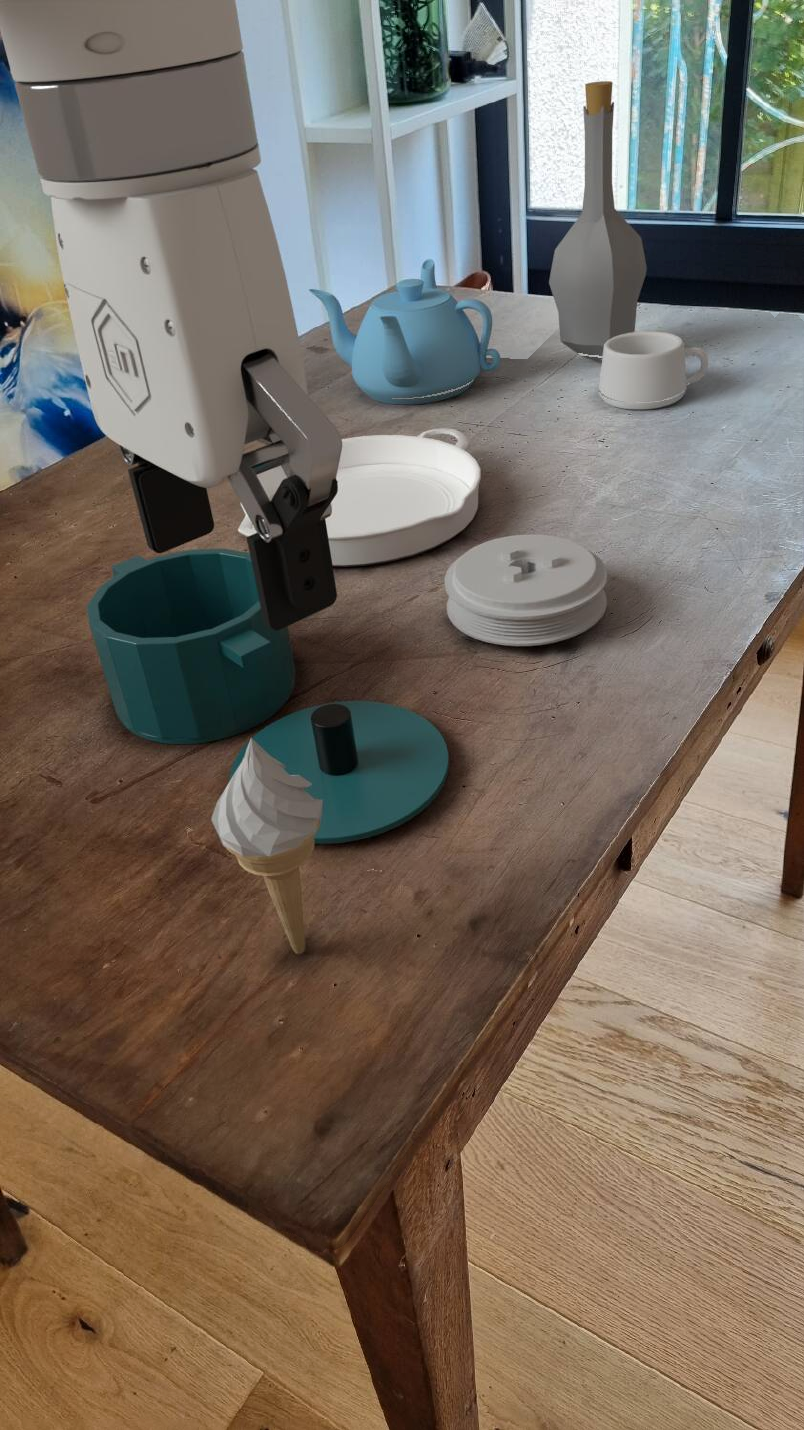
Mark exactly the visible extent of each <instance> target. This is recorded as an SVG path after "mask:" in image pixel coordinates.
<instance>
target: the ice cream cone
mask: <svg viewBox="0 0 804 1430" xmlns="http://www.w3.org/2000/svg"><path fill="white" fill-rule="evenodd" d="M249 740H250V742H249V744H248V747H247V750H246V753H245V755H244V758H243V760H242V762H241V764H240V765H239V767H238V768H237V770H236V772H235V773H234V775H233V777H232V778H231V780H230V779H229V782H228V784H227V785H226V787H225V789H224V790H223V792H222V794H220V797H219V799H218V800H217V801H216V804H215V807H214V810H213V812H212V816H211V819H210V820H211V823H212V824H213V827H214V828H215V831H216V832H217V835H218V836H219V839H220V842H221V845H222V846H223V847H224V848H225V849H226V850H227V851H228V852H229V853H230V854H233V855H234V856H235V858H236V859H237V862H238V865H239V866H240V867H241V868H243V869H244V870H245V872H248V873H250V874H253V875H255V876H260V877H261V876H262V877H263V880H264V883H265V885H266V888H267V890H268V893H269V896H270V899H271V901H272V903H273V906H274V908H275V910H276V913H277V915H278V918H279V920H280V922H281V925H282V927H283V929H284V931H285V934H286V936H287V940H288V942H289V944H290V947H291V949H292V951H293V952H294V954H296V955H301V954H303V953H304V952H305V949H306V937H305V936H306V935H305V926H304V910H303V896H302V895H303V893H302V891H303V890H302V883H301V871H300V867H301V866H303V865H304V864H305V862H307V861H308V860H309V859H310V858H311V856H312V854H313V851H314V849H315V843H314V836H315V834H316V832H317V830H318V828H319V826H320V824H321V815H322V802H323V800H321V799H314V798H313V797H312V796H311V795H310V794H308V793H307V792H306V791H305V790H304V788H306V787H309V786H311V785H312V783H311V782H309V781H307V780H306V779H304V778H302V777H301V776H300V775H291V776H290V775H289V774H288V773H287V772H286V771H285V770H284V769H285V768H286V766H285V765H284V764H282V763H281V762H279V761H278V760H276V759H274V758H273V757H271V756H270V755H268V754H267V753H266V752H265V751H264V750H263V749H262V748H261V747H260V746H259V745H258V744H257V743H256V742H255V741H254V740H253V739H252V737H250V738H249Z"/></svg>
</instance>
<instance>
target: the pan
mask: <svg viewBox="0 0 804 1430" xmlns="http://www.w3.org/2000/svg"><path fill="white" fill-rule="evenodd" d="M442 434H444V435H451V436H453V437H454V438H455V439H456V440H457V442H456V443H455V444H452V443H449V442H446V441H442V440H440V439H434V438H428V437H430V436H433V435H442ZM341 439H342V451H341V456H340V461H339V466H338V471H337V475H336V480H337V481H338V492H337V494H336V496H335V497H334V499H333V500H332V502H331V505H332V514H331V516H330V517H328V518H326V519H325V520H326V527H327V533H328V540H329V546H330V552H331V559H332V565H333V568H335V567H336V568H348V567H365V566H371V565H377V564H383V563H390V562H394V561H397V560H402V559H406V558H411V557H414V556H417V555H419V554H422V553H425V552H428V551H430V550H433V549H435V548H437V547H439V546H441V545H443V544H445V543H447V542H448V541H450V540H452V539H453V538H454V537H457V535H459V534H460V533H461V532H463V531H464V530H465V529H466V528H467V527H468V526H469V524H470V523H471V522H472V521H473V519H474V518H475V515H476V514H477V511H478V508H479V486H480V483H481V474H482V473H481V472H482V469H481V467H480V464H479V462H478V461H477V460H476V459H475V457H474V456H472V455H471V454H470V453H469V452H468V451H466V449H467V448H468V447H469V444H470V439H469V437H467V435H466V434H465V433H463V432H462V431H459V430H458V429H456V428H455V429H454V428H447V427H442V428H432V429H428V430H426V431H425V430H424V431H423V432H421V433H419V434H418V435H417V436H415V435H406V434H405V435H404V434H375V435H361V436H354V437H347V438H341ZM281 466H282V465H281ZM281 466H278V467H276V468H273V469H270V470H268V471H265V472H263V473H260V474H258V475H257V477H258V479H259V481H260V483H261V485H262V486H263V488H264V490H265V492H266V494H267V496H268V498H269V499H270V501H271V500H272V498H273V496H274V494H275V493H276V491H277V489H278V487H279V486H280V484H281V482H282V481H283V480H284V479H285V478H287V476H286V474H285V472H284V470H283V469H282V467H281ZM240 506H241V508H242V510H243V513H244V515H245V516H244V518H243V519H242V521H241V523H240V524H239V527H238V529H237V532H238V533H239V534H241V535H243V536H245V537H246V538H247V537H248V536H251V535H253V534H255V533H257V531H256V530H255V528H254V526H253V524H252V522H251V520H250V518H249V517H248V515H247V513H246V511H245V509H244V507H243V506H242V504H241V503H240Z"/></svg>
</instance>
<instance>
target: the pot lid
mask: <svg viewBox="0 0 804 1430" xmlns="http://www.w3.org/2000/svg"><path fill="white" fill-rule="evenodd" d="M251 738H252V739H253V740H254V741H255V742H256V743H257V744H258V745H259V746H260V747H261V748H262V749H263V750H264V751H265V752H266V753H267V754H268V755H270V756H271V757H273V758H274V759H276V760H278V761H279V762H281V763H282V764H284V765H285V766H286V768H285V769H284V770H285V771H286V772H287V773H288V774H289V775H290V776H291V775H300V776H301V777H302V778H304V779H306V780H307V781H309V782H311V783H312V785H311V786H309V787H306V788H304V790H305V791H306V792H307V793H308V794H310V795H311V796H312V797H313V798H314V799H321V800H323V802H322V815H321V824H320V826H319V828H318V830H317V832H316V834H315V836H314V845H315V844H318V845H327V844H341V843H348V842H355V841H359V840H364V839H368V838H371V837H375V836H378V835H381V834H384V833H386V832H389V831H390V830H393V829H395V828H397V827H400V826H402V825H403V824H405V823H407V822H408V821H410V820H411V819H413V818H415V817H416V816H417V815H419V814H420V813H422V811H423V810H425V809H426V808H427V807H428V806H429V805H431V803H432V802H433V801H434V800H435V799H436V797H438V795H439V793H440V792H441V790H442V789H443V787H444V785H445V783H446V780H447V777H448V774H449V769H450V755H449V749H448V745H447V743H446V740H445V738H444V737H443V734H441V732H440V731H439V729H438V728H436V726H434V724H433V723H432V722H430V721H429V720H428V719H426V718H425V717H424V716H422V715H420V714H418V713H417V712H414V711H412V710H410V709H407V708H405V707H402V706H398V705H395V704H390V703H385V702H381V701H380V702H379V701H371V700H347V701H346V700H345V701H336V702H328V703H327V702H326V703H323V704H319V705H314V706H311V707H307V708H303V709H300V710H297V711H295V712H292V713H289V714H288V715H285V716H283V717H281V718H279V719H277V720H275V721H273V722H272V723H270V724H269V725H266V726H265V727H264V728H263V729H261V730H260V731H258V732H257V733H256V734H255V735H254V736H252V737H251ZM249 742H250V739H248V741H247V742H246V743H245V744H244V746H243V747H241V749H240V750H239V752H238V754H237V755H236V757H235V759H234V761H233V763H232V765H231V770H230V773H229V781H230V780H231V778H232V777H233V775H234V773H235V772H236V770H237V768H238V767H239V765H240V764H241V762H242V760H243V758H244V755H245V753H246V750H247V747H248V744H249Z"/></svg>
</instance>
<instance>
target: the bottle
mask: <svg viewBox="0 0 804 1430" xmlns="http://www.w3.org/2000/svg"><path fill="white" fill-rule="evenodd" d="M584 87H585V89H584V91H585V105H582V106H583V107H582V108H583V127H584V188H583V189H584V190H583V198H582V208H581V214H580V215H579V217H578V218H577V219H576V220H575V222H574V223H573V224H572V226H571V227H570V229H569V230H568V232H567V233H566V234H565V235H564V237H563V238H562V240H560V242H559V243H558V245H557V247H556V248H555V249H554V252H553V258H552V263H551V269H550V274H549V279H548V285H549V287H550V291H551V293H552V297H553V300H554V303H555V306H556V309H557V313H558V314H557V315H558V326H559V327H558V328H559V339H560V340H559V341H560V343H562V344H563V345H565V346H566V347H568V348H569V349H570V350H572V351H573V352H575V353H576V354H578V353H583V354H588V355H599V356H603V349H604V344H605V343H606V342H607V341H608V340H610V339H611V338H613V337H616V336H618V335H622V334H626V333H632V332H636V320H637V307H638V300H639V297H640V294H641V290H642V287H643V284H644V281H645V278H646V276H647V275H646V274H647V271H648V270H647V269H648V267H647V263H646V256H645V252H644V247H643V239H642V237H641V236H640V234H638V232H637V231H636V230H635V229H634V228H633V227H632V226H631V224H630V223H629V222H627V220H626V219H625V218H624V217H623V216H622V215H621V214H620V213H619V211H618V210H616V208H615V207H616V206H615V198H614V189H613V129H614V112H615V102H614V101H613V102H612V99H613V81H609V80H602V81H594V82H593V81H592V82H587V83H585V84H584ZM581 357H582V358H584V359H588V360H590V361H593V362H598V363H599V362H600V361H602V358H598V357H589V356H581Z"/></svg>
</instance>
